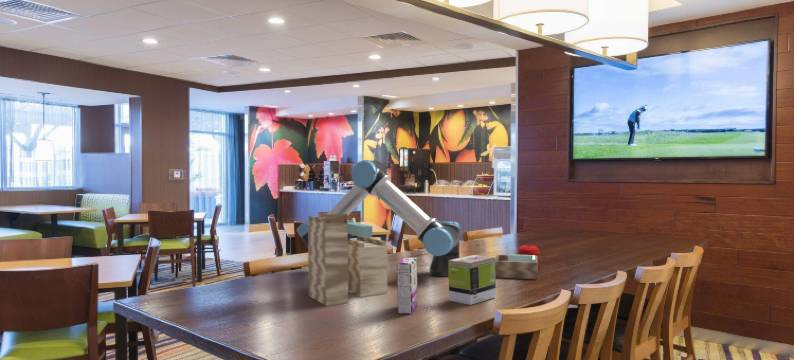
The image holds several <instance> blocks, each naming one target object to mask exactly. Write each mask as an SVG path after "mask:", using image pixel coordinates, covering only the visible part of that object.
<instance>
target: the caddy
mask: <svg viewBox="0 0 794 360" xmlns="http://www.w3.org/2000/svg"><path fill="white" fill-rule="evenodd" d="M508 255H509V254H496V256H494V257H495V277H496V279H497V278H498V279H521V280H523V279H524V280H525V279H526V280H538V271H539V270H538V265H539V264H538V262H539V259H537V256H535V262H516V261H508Z"/></svg>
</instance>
